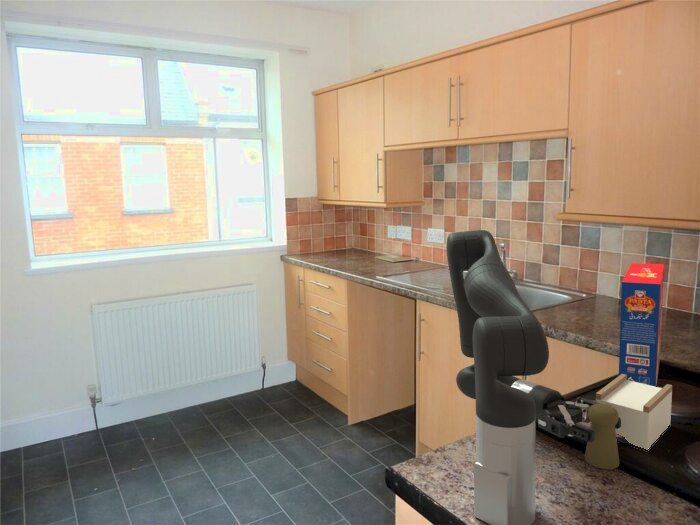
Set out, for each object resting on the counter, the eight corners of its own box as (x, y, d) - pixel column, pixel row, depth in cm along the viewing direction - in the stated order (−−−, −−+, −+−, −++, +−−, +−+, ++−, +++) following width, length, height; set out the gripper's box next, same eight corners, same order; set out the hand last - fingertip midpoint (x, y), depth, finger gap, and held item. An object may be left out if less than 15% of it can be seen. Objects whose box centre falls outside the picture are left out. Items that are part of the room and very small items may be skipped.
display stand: (647, 451, 100) (649, 407, 98) (594, 434, 107) (595, 393, 106) (670, 425, 109) (672, 385, 108) (620, 411, 116) (622, 373, 115)
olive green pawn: (608, 451, 101) (610, 398, 99) (626, 468, 95) (628, 412, 93) (578, 453, 100) (579, 400, 99) (594, 470, 94) (595, 414, 93)
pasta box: (655, 397, 123) (660, 284, 119) (618, 391, 127) (621, 281, 123) (659, 360, 146) (664, 264, 142) (628, 356, 150) (631, 263, 146)
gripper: (512, 393, 105) (584, 422, 91) (556, 376, 112) (628, 401, 99) (512, 427, 106) (584, 461, 93) (555, 408, 114) (627, 437, 100)
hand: (607, 430), depth 96 cm, fingers open, 8 cm apart
